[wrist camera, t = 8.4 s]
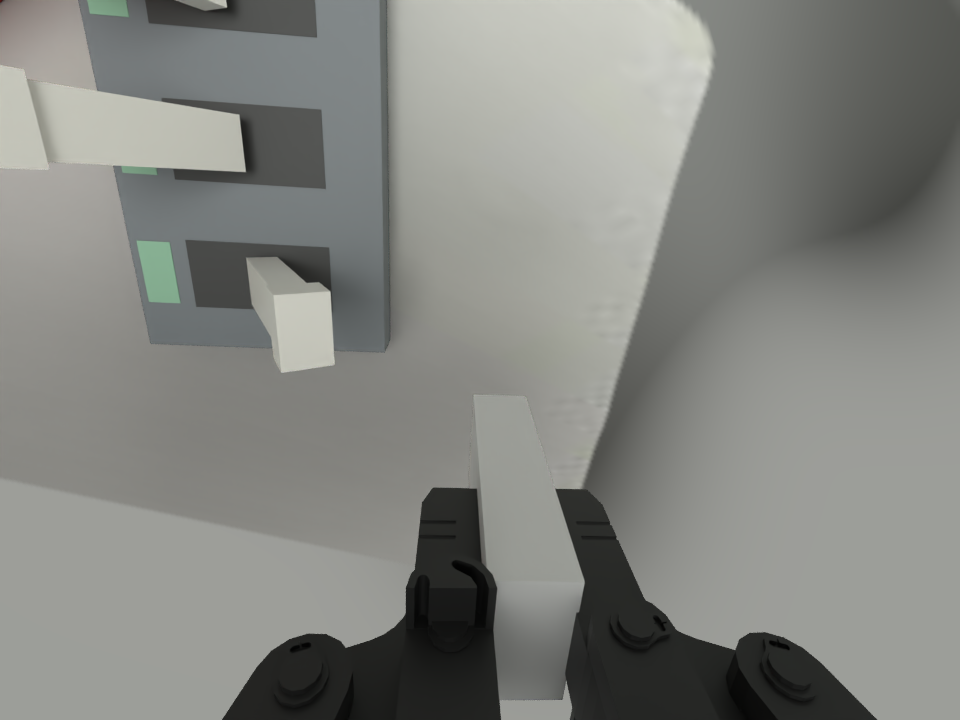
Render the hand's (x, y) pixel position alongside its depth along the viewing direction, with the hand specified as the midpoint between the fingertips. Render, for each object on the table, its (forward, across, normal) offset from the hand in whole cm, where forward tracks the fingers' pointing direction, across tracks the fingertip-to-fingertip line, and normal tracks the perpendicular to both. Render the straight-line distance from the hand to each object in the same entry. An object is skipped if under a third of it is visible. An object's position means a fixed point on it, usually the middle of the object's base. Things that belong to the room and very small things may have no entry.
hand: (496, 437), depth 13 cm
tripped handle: (+19, -14, 0) cm, 24 cm away
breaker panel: (+22, -14, +8) cm, 28 cm away
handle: (+19, -14, +8) cm, 25 cm away
